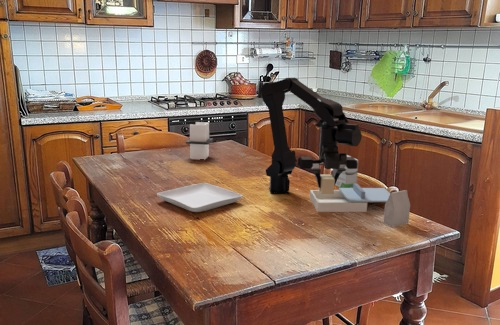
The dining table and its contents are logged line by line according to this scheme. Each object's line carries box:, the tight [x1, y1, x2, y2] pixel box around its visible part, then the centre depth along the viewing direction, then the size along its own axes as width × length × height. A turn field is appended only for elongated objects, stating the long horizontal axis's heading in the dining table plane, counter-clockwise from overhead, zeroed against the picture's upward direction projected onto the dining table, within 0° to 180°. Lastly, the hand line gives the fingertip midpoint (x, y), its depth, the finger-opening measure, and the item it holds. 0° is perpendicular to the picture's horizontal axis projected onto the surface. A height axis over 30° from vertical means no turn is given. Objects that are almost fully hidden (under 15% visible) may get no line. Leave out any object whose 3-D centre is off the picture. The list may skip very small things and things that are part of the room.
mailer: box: [309, 189, 368, 213], centre depth 160 cm, size 16×14×3 cm
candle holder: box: [185, 121, 214, 161], centre depth 221 cm, size 25×24×16 cm
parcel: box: [317, 173, 336, 194], centre depth 158 cm, size 4×6×5 cm
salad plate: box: [156, 182, 244, 213], centre depth 160 cm, size 21×21×3 cm
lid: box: [338, 183, 391, 203], centre depth 159 cm, size 16×14×3 cm
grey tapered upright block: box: [382, 189, 411, 228], centre depth 143 cm, size 4×7×10 cm, turn 121°
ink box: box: [335, 154, 359, 189], centre depth 178 cm, size 9×5×12 cm, turn 18°
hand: (326, 187), depth 158 cm, fingers closed on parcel, 4 cm apart
